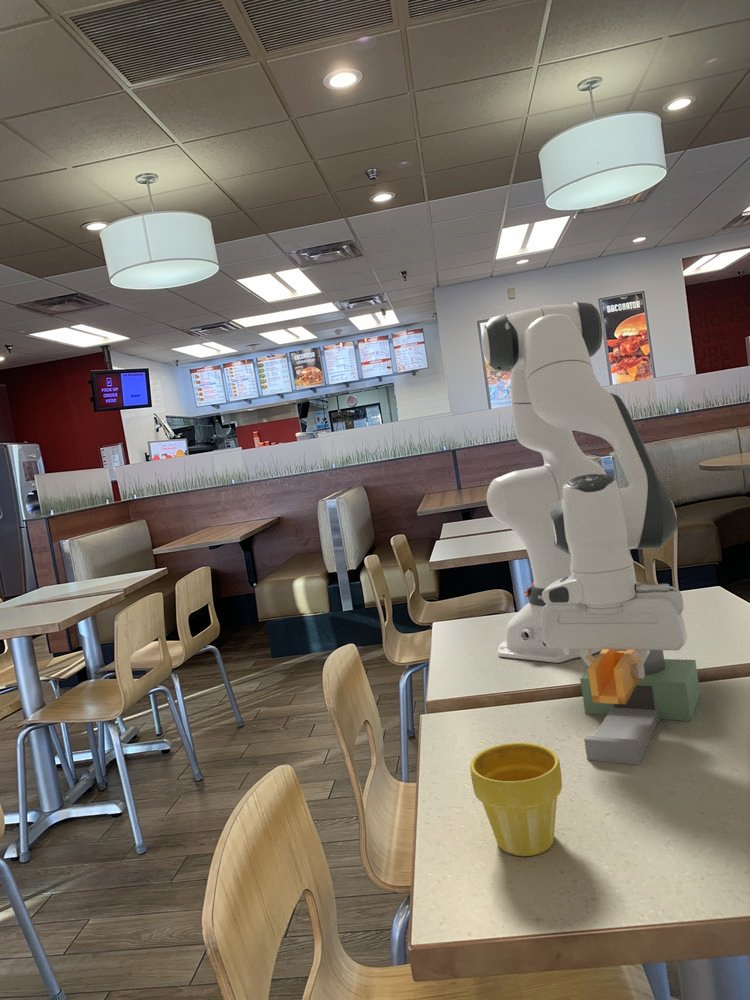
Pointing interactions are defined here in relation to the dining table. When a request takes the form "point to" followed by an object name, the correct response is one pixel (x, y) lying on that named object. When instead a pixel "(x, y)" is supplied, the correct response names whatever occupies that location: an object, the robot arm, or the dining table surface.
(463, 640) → the dining table surface
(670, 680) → the green coffee machine
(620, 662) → the chute
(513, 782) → the plant pot
